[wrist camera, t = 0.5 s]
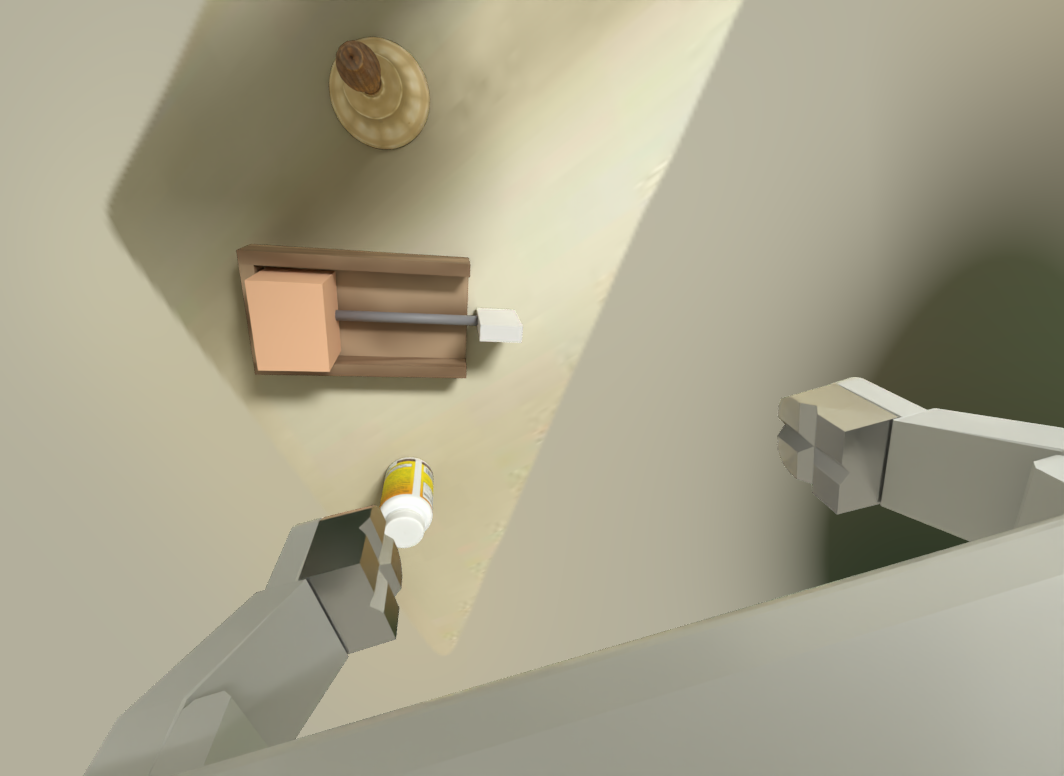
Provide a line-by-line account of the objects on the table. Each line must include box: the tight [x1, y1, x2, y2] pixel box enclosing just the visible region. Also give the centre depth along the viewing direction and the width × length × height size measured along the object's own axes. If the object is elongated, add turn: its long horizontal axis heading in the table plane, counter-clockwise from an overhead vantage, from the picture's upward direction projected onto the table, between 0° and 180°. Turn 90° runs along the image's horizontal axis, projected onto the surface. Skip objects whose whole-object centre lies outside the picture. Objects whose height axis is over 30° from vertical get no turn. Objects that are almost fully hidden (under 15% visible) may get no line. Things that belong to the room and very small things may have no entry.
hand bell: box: [329, 37, 430, 149], centre depth 35 cm, size 8×8×16 cm
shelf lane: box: [236, 244, 470, 378], centre depth 48 cm, size 12×20×4 cm, turn 85°
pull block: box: [244, 267, 523, 372], centre depth 47 cm, size 8×24×6 cm, turn 85°
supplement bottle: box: [380, 457, 433, 548], centre depth 53 cm, size 6×6×10 cm
